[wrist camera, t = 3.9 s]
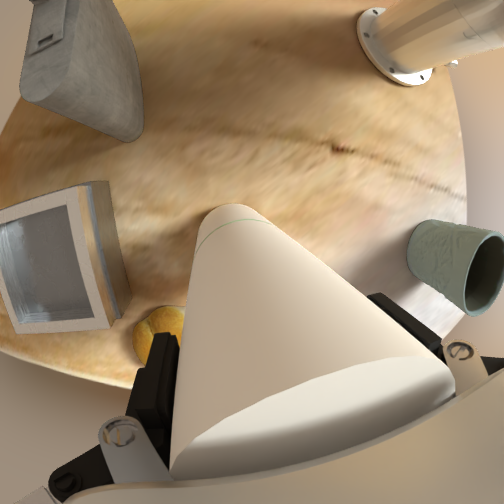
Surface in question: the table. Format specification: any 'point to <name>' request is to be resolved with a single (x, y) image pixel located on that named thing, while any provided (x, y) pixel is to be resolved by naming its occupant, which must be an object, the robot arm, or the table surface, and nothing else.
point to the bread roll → (157, 328)
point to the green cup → (459, 263)
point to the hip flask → (84, 66)
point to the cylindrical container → (285, 357)
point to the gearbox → (63, 261)
